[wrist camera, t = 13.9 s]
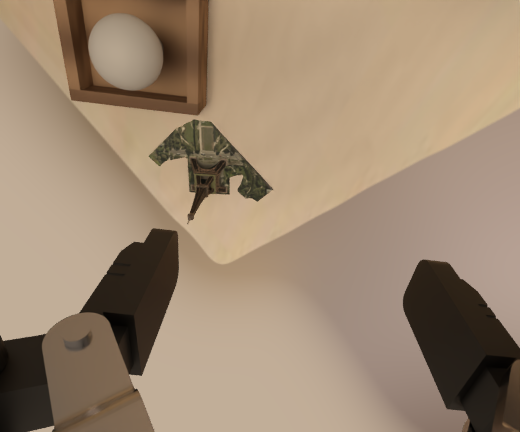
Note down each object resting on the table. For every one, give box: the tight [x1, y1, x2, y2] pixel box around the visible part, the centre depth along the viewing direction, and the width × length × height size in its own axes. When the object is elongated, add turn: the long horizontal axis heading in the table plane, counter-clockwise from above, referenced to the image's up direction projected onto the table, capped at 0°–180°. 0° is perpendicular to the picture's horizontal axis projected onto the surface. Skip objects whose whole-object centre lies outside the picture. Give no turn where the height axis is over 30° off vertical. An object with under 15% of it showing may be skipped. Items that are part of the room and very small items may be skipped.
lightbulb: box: [88, 13, 164, 91], centre depth 31 cm, size 6×6×11 cm
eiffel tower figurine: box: [149, 120, 273, 224], centre depth 40 cm, size 15×10×13 cm
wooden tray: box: [53, 0, 208, 115], centre depth 35 cm, size 12×14×5 cm
